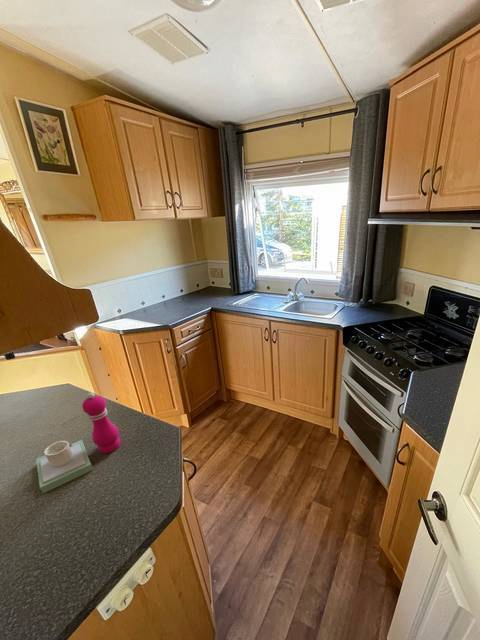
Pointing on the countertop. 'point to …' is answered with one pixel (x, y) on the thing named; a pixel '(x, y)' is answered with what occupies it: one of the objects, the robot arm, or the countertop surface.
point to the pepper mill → (101, 424)
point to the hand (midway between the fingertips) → (11, 354)
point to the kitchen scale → (63, 468)
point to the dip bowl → (58, 453)
